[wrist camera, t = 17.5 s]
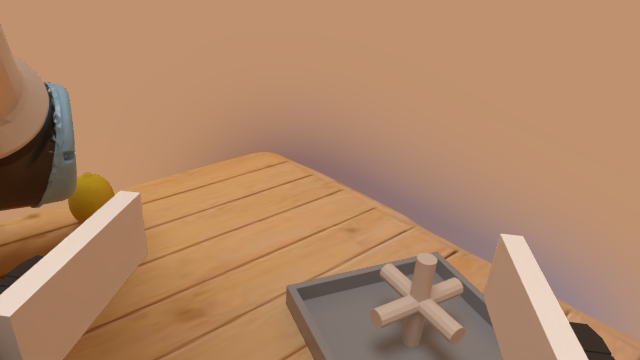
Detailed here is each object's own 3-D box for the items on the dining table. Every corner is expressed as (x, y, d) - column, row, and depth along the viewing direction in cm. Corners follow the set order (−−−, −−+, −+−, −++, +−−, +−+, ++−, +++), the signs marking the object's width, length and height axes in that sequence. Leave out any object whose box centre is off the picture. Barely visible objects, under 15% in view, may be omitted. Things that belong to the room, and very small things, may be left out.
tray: (286, 303, 50) (286, 285, 49) (433, 268, 57) (436, 251, 56) (372, 473, 34) (375, 452, 33) (561, 393, 41) (570, 374, 40)
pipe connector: (415, 294, 51) (430, 219, 47) (484, 357, 44) (509, 274, 39) (341, 324, 47) (350, 243, 42) (403, 400, 39) (422, 311, 35)
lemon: (123, 215, 65) (115, 164, 61) (112, 236, 60) (103, 182, 56) (82, 216, 64) (71, 164, 60) (67, 238, 59) (55, 183, 55)
